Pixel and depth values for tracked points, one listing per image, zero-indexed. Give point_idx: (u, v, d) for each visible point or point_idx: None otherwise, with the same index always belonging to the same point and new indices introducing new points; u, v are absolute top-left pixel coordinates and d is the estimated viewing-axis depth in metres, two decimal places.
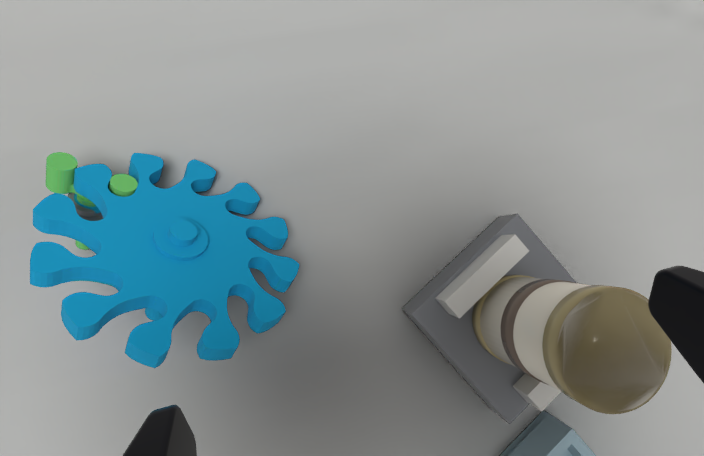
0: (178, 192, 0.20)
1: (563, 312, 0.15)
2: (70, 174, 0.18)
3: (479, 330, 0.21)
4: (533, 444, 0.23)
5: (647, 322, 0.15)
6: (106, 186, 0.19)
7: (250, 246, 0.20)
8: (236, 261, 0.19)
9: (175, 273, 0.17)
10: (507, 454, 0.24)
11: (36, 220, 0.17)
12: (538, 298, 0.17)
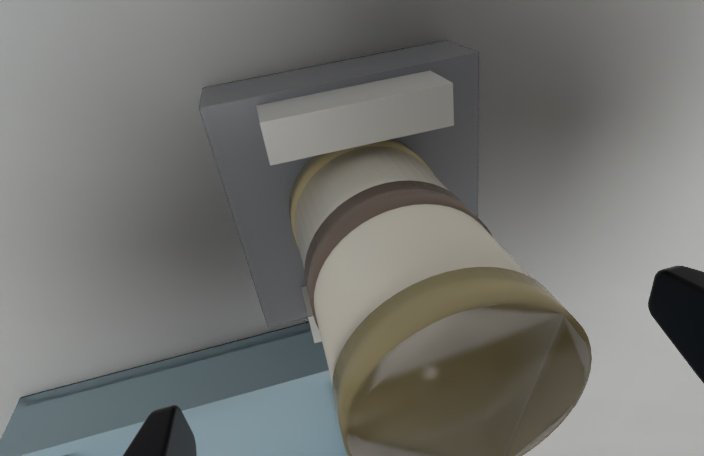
0: None
1: (437, 306, 0.06)
2: None
3: (296, 197, 0.12)
4: (287, 354, 0.16)
5: (557, 386, 0.08)
6: None
7: None
8: None
9: None
10: (251, 345, 0.17)
11: None
12: (411, 227, 0.08)
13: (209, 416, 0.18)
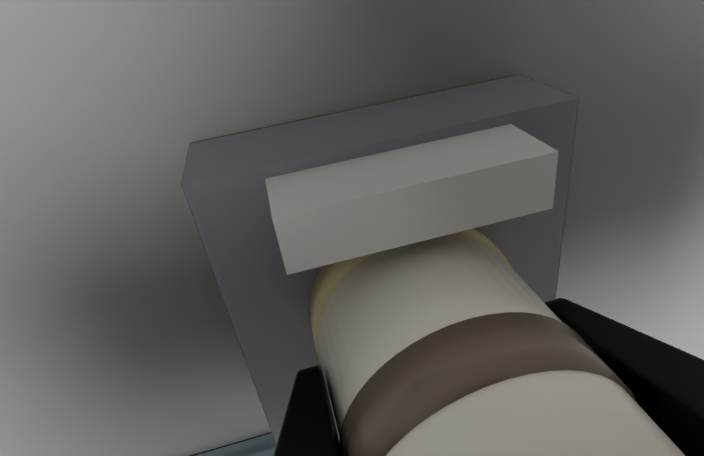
0: None
1: None
2: None
3: (321, 303, 0.08)
4: None
5: None
6: None
7: None
8: None
9: None
10: (255, 450, 0.13)
11: None
12: (541, 437, 0.05)
13: None
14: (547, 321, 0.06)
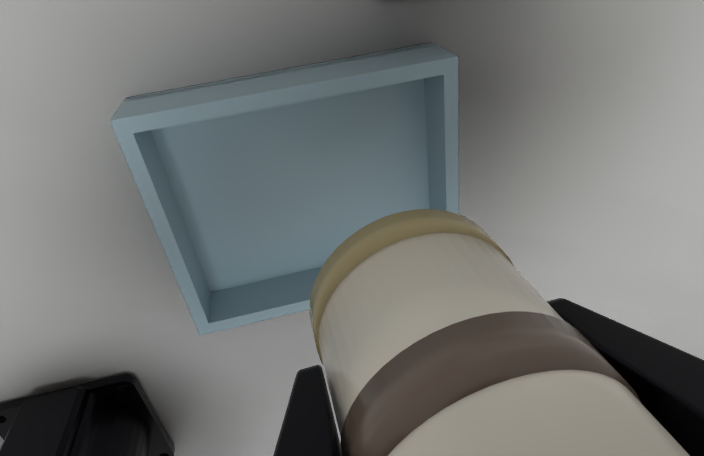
0: None
1: None
2: None
3: (322, 302, 0.08)
4: (396, 58, 0.16)
5: None
6: None
7: None
8: None
9: None
10: (356, 58, 0.17)
11: None
12: (545, 437, 0.05)
13: (305, 148, 0.18)
14: (550, 320, 0.06)
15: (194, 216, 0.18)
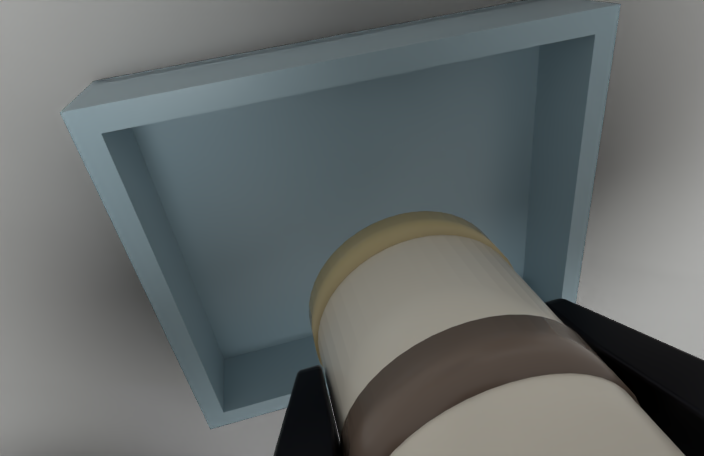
0: None
1: None
2: None
3: (321, 304, 0.08)
4: (512, 13, 0.10)
5: None
6: None
7: None
8: None
9: None
10: (444, 18, 0.11)
11: None
12: (544, 441, 0.05)
13: (364, 154, 0.12)
14: (549, 323, 0.06)
15: (201, 257, 0.12)
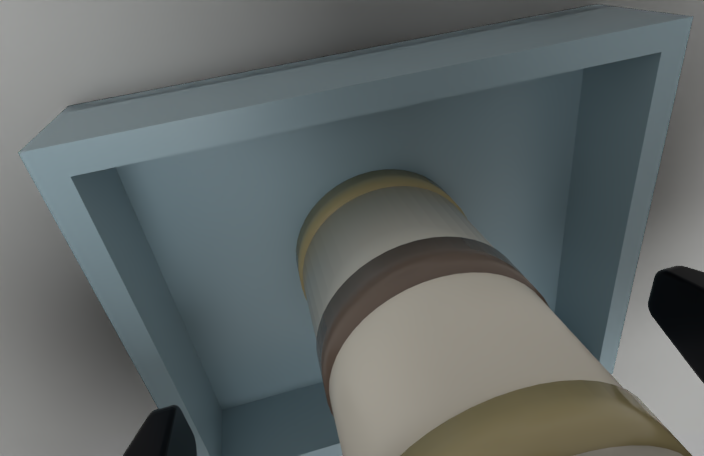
0: None
1: (510, 450, 0.05)
2: None
3: (305, 245, 0.10)
4: (559, 26, 0.09)
5: None
6: None
7: None
8: None
9: None
10: (477, 31, 0.09)
11: None
12: (457, 310, 0.06)
13: None
14: (479, 244, 0.08)
15: (195, 302, 0.11)
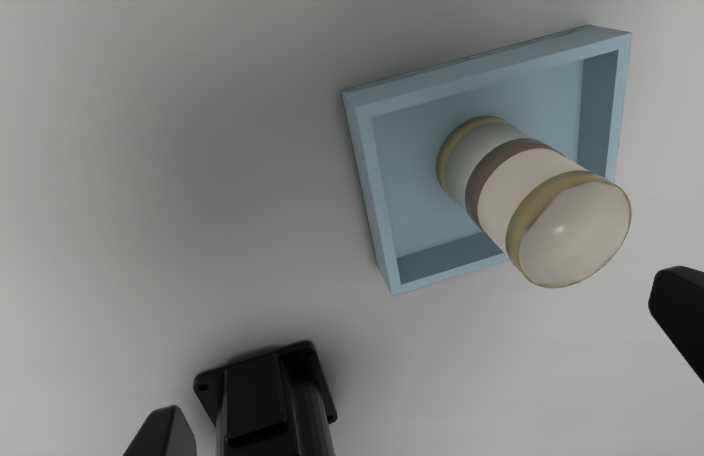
0: None
1: (562, 185, 0.15)
2: None
3: (446, 155, 0.20)
4: (570, 39, 0.19)
5: (615, 228, 0.16)
6: None
7: None
8: None
9: None
10: (530, 43, 0.19)
11: None
12: (536, 158, 0.16)
13: None
14: (539, 141, 0.18)
15: (384, 191, 0.21)
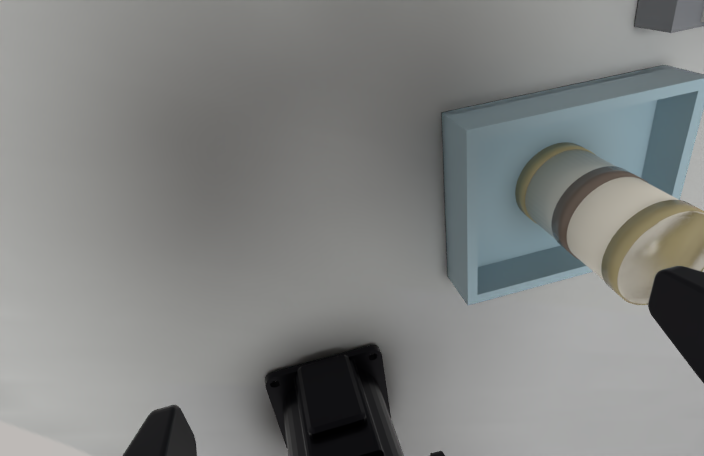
0: None
1: (664, 212, 0.16)
2: None
3: (529, 177, 0.22)
4: (653, 78, 0.20)
5: (701, 253, 0.17)
6: None
7: None
8: None
9: None
10: (614, 78, 0.21)
11: None
12: (630, 186, 0.18)
13: None
14: None
15: None
